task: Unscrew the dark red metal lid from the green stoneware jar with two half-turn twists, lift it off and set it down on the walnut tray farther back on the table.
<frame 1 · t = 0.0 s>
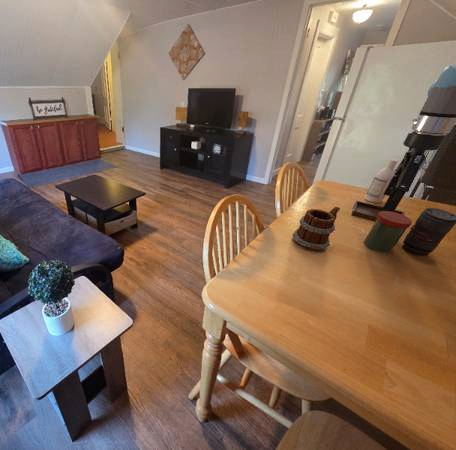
hand: (388, 202, 78), 18 cm above the table, tool pointing down, fingers open, 13 cm apart
tray: (376, 215, 107), on the table
lid: (394, 218, 81), point 12 cm above the table, screwed on, not yet turned
bath foam: (372, 200, 120), on the table
mug: (311, 241, 90), on the table
camera lens: (414, 250, 86), on the table
jar: (377, 246, 88), on the table
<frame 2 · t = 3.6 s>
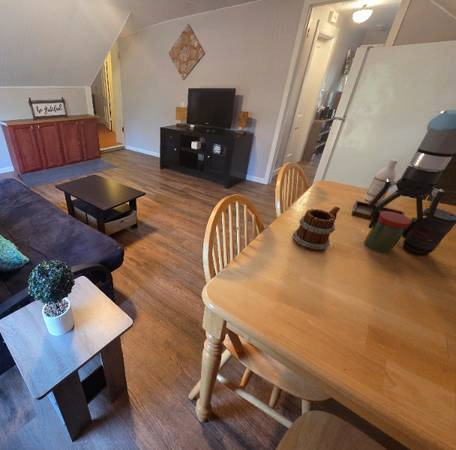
hand: (386, 231, 84), 6 cm above the table, tool pointing down, fingers closed on lid, 8 cm apart
lid: (394, 218, 81), point 12 cm above the table, screwed on, not yet turned, touching gripper
everything else where it was.
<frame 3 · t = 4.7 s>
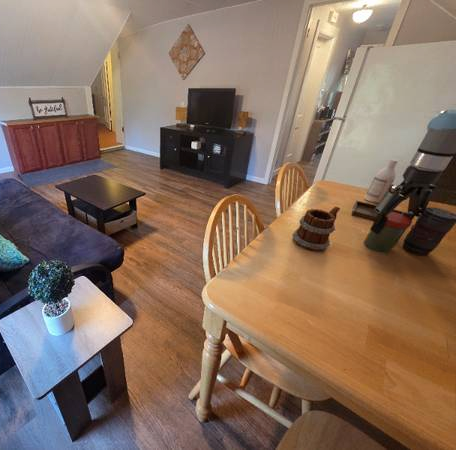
hand: (386, 231, 84), 7 cm above the table, tool pointing down, fingers closed on lid, 8 cm apart
lid: (394, 218, 81), point 12 cm above the table, turned 43° so far, risen 0.1 cm, still on its thread, touching gripper
everything else where it was.
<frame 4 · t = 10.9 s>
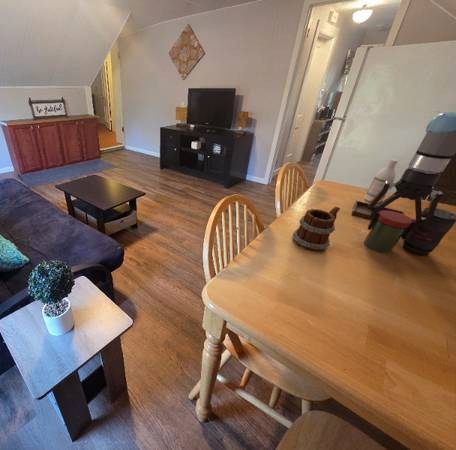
hand: (385, 232, 85), 6 cm above the table, tool pointing down, fingers closed on lid, 8 cm apart
lid: (394, 217, 81), point 12 cm above the table, turned 180° so far, risen 0.2 cm, still on its thread, touching gripper
everything else where it was.
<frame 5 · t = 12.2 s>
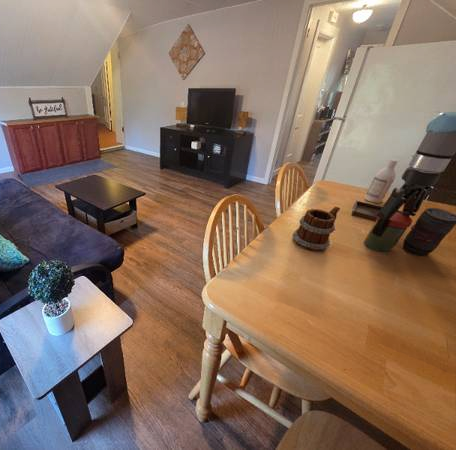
hand: (385, 232, 85), 6 cm above the table, tool pointing down, fingers closed on lid, 8 cm apart
lid: (394, 217, 81), point 12 cm above the table, turned 236° so far, risen 0.3 cm, still on its thread, touching gripper
everything else where it was.
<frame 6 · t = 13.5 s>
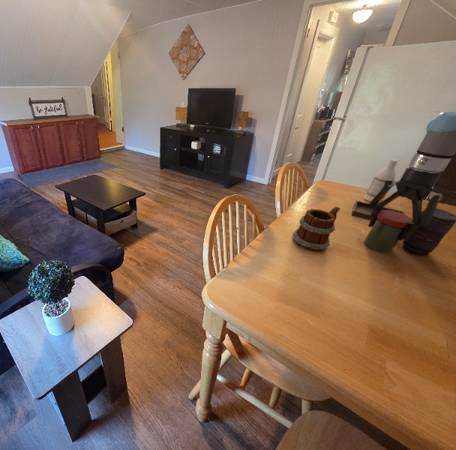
hand: (385, 232, 84), 6 cm above the table, tool pointing down, fingers closed on lid, 8 cm apart
lid: (395, 217, 81), point 12 cm above the table, off its thread, touching gripper
everything else where it was.
when the fingers open (2 cm above the table, at t = 21.6 s): lid drops 6 cm, resting on tray.
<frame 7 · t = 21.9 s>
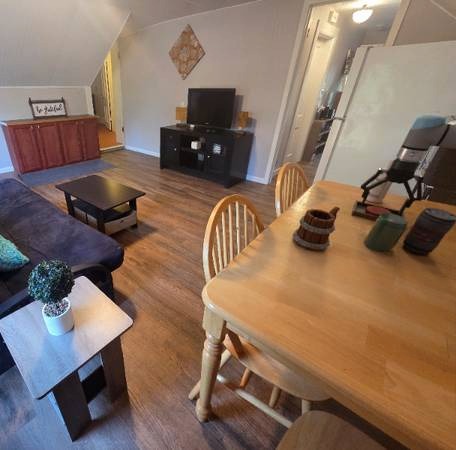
hand: (380, 209, 105), 3 cm above the table, tool pointing down, fingers open, 12 cm apart
lid: (378, 211, 106), point 2 cm above the table, off its thread, touching tray
everything else where it was.
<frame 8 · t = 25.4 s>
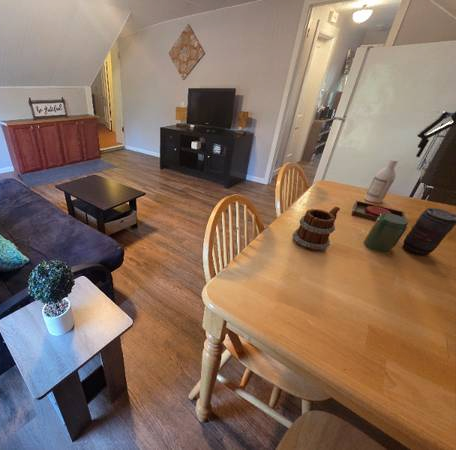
hand: (441, 159, 93), 25 cm above the table, tool pointing down, fingers open, 13 cm apart
nothing on the table moved.
at the end: lid came off its thread; lid inside the target area on the tray (0.0 cm from its centre), point 2.0 cm above the tray's base; the gripper is holding nothing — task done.
